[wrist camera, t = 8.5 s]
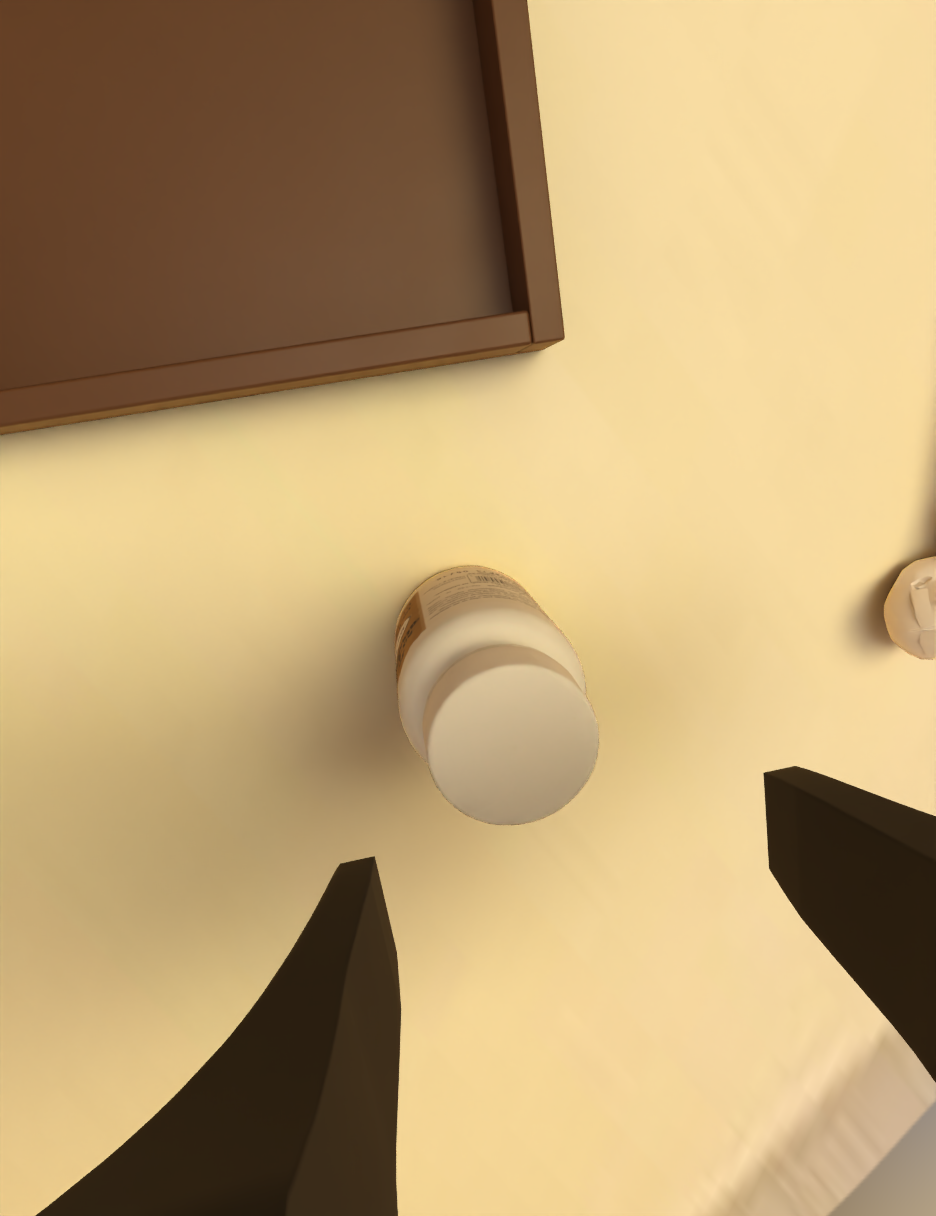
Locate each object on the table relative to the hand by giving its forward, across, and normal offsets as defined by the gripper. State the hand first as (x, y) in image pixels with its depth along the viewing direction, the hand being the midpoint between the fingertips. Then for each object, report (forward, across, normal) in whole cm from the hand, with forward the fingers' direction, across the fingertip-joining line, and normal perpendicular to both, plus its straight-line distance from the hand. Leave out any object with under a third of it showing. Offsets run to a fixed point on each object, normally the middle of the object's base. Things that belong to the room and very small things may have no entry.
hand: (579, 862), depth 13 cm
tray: (+9, +5, -15) cm, 18 cm away
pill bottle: (+10, +1, -2) cm, 10 cm away
